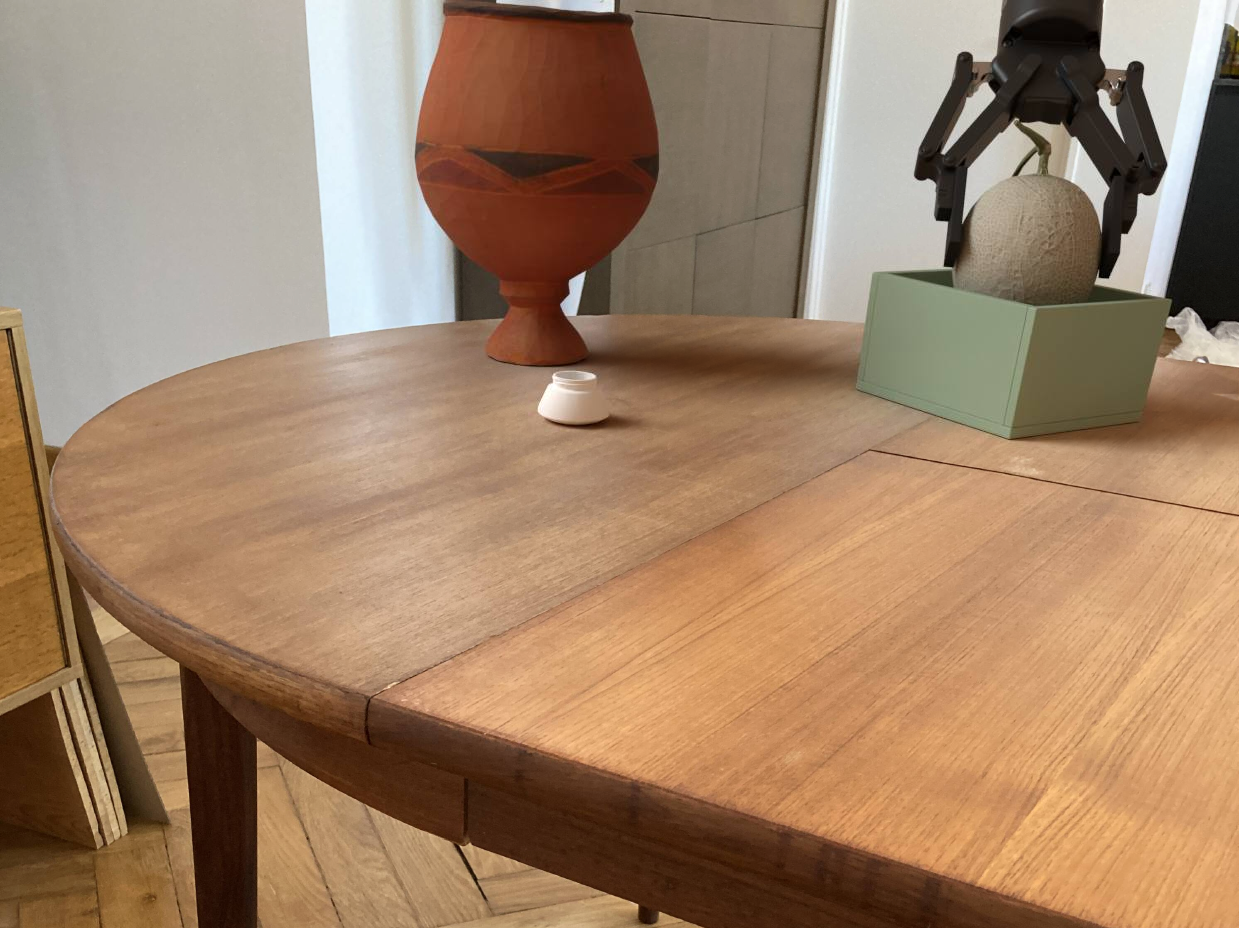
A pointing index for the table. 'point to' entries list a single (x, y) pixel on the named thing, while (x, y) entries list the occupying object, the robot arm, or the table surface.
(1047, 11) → the robot arm
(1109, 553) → the table surface
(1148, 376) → the bin
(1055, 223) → the fruit
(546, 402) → the white jar
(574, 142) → the goblet
